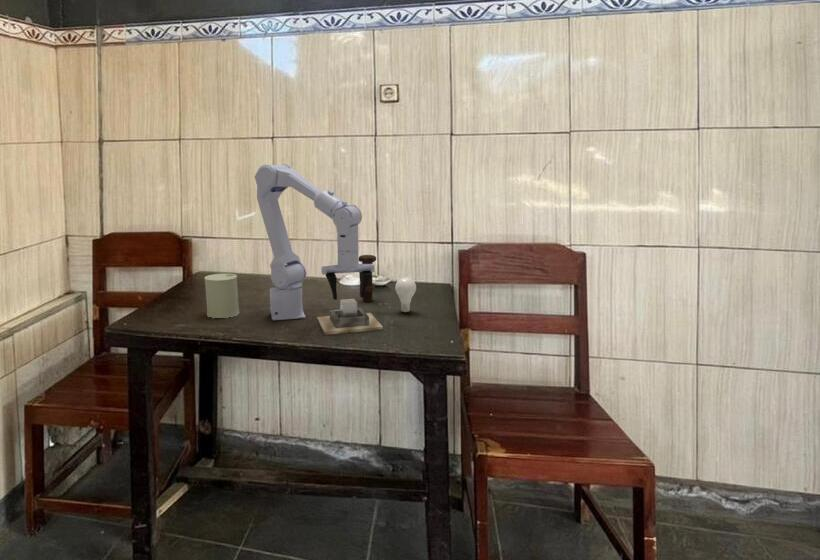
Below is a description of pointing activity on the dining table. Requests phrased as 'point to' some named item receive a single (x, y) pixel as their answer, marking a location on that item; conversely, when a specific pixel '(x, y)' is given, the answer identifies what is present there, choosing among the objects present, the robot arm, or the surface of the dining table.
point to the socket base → (348, 322)
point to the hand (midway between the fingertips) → (348, 297)
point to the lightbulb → (405, 292)
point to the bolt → (370, 287)
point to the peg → (348, 308)
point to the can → (221, 295)
